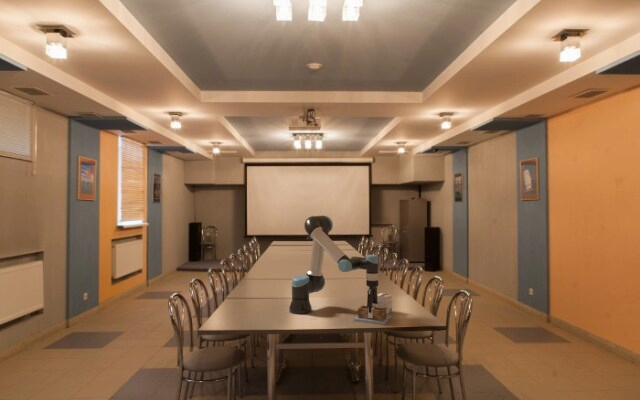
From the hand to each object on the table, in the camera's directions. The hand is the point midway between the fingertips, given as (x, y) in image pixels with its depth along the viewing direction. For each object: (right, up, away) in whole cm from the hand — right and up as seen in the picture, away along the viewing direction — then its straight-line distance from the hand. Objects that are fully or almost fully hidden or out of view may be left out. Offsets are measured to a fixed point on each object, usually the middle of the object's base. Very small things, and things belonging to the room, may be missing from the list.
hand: (372, 315), depth 266 cm
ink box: (+10, -3, +18) cm, 20 cm away
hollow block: (0, -1, 0) cm, 1 cm away
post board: (0, -2, 0) cm, 2 cm away
